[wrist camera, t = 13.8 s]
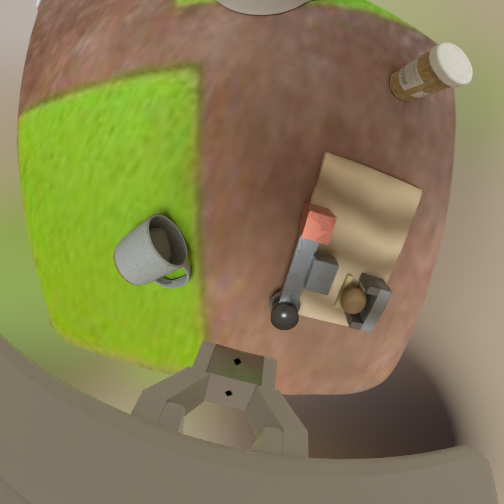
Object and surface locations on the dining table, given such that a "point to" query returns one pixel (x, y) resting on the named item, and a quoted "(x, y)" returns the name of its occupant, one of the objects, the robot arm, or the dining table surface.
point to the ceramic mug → (153, 253)
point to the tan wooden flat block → (359, 237)
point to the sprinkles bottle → (432, 73)
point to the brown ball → (353, 300)
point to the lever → (306, 265)
